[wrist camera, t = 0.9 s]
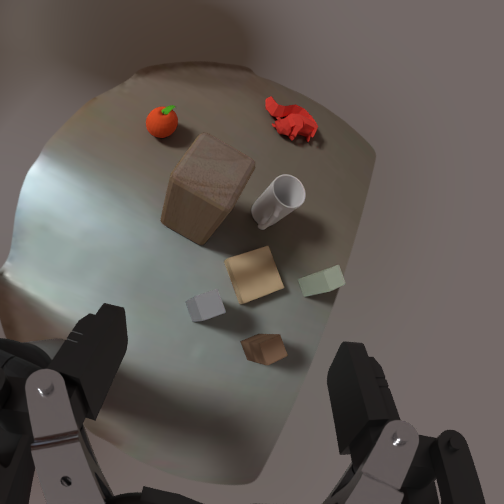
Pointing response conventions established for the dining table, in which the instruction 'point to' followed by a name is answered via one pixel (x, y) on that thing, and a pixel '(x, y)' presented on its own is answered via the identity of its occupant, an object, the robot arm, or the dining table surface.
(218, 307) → the grey post
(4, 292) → the dining table surface
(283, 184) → the mug
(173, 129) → the clementine
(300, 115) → the animal figurine
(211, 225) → the wooden block
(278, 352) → the walnut post
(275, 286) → the oak slab
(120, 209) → the dining table surface
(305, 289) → the sage post
